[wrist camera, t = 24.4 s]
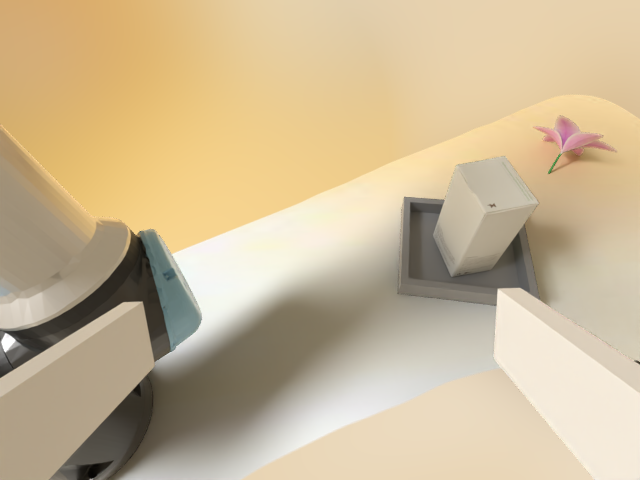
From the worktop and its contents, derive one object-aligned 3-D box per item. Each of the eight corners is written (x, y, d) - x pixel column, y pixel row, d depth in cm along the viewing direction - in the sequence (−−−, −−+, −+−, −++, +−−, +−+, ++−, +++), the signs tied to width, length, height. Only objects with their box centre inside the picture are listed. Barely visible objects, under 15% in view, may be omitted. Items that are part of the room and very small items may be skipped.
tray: (397, 293, 48) (400, 283, 45) (401, 209, 56) (404, 196, 53) (527, 309, 45) (539, 300, 42) (511, 218, 53) (520, 205, 50)
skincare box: (491, 271, 47) (545, 205, 34) (448, 279, 47) (485, 216, 34) (468, 226, 52) (508, 153, 39) (428, 233, 52) (455, 162, 39)
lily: (602, 184, 57) (637, 129, 52) (565, 185, 52) (601, 125, 47) (539, 161, 66) (565, 113, 61) (503, 161, 61) (527, 107, 56)
